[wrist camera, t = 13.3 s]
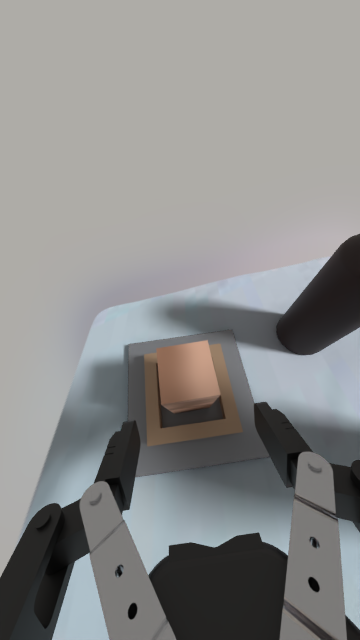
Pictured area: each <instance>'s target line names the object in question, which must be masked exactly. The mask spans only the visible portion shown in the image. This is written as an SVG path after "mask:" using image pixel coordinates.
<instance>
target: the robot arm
mask: <svg viewBox="0 0 360 640" xmlns="http://www.w3.org/2000/svg"><path fill="white" fill-rule="evenodd" d="M254 422H255V427H256V430H257V432H258V434H259V436H260V438H261V440H262V442H263V444H264V446H265V448H266V450H267V452H268V454H269V455H270V457H271V459H272V461H273V463H274V465H275V467H276V469H277V471H278V473H279V475H280V477H281V478H282V480H283V482H284V484H285V486H286V488H288V487H293V488H294V489H295V495H294V502H293V512H292V522H291V533H290V543H289V553H288V555H286V554H285V553H284V552H283V551H281V550H280V549H278V548H276V547H274V546H273V545H270V544H268V543H265V542H262V541H261V537H260V534H259V533H253V534H246V535H239V536H236V537H234V538H232V539H230V540H229V541H227V542H225V543H223V544H222V545H220V546H218V547H215V548H214V547H209V546H204V545H200V544H196V543H184V544H177V545H170V546H169V556H167V557H165V558H164V559H163V560H161V561H160V562H159V563H158V564H157V565H156V566H155V567H154V569H153V570H152V571H151V572H150V574H149V575H148V574H147V572H146V569H145V567H144V565H143V562H142V560H141V558H140V555H139V553H138V551H137V548H136V546H135V544H134V541H133V539H132V537H131V534H130V532H129V529H128V527H127V525H126V523H125V521H124V520H123V518H122V512H123V511H124V510H129V509H130V503H131V498H132V492H133V487H134V481H135V475H136V470H137V464H138V459H139V453H140V446H141V442H140V435H139V431H138V427H137V423H136V421H135V420H133V421H126V422H123V425H122V428H121V431H118V432H115V433H114V435H113V436H112V437H111V439H110V441H109V444H108V446H107V449H106V452H105V456H104V457H103V460H102V463H101V465H100V468H99V471H98V474H97V476H96V479H95V482H94V484H93V485H91V486H90V487H89V488H88V489H87V490H86V491H85V493H84V494H83V496H82V498H81V499H79V500H78V501H76V502H74V503H72V504H70V505H68V506H66V507H64V508H61V507H60V505H59V504H57V503H52V504H49V505H47V506H45V507H43V508H42V509H41V510H40V511H38V512H37V513H36V514H35V516H34V517H33V518H32V519H31V521H30V522H29V524H28V526H27V528H26V530H25V531H24V533H23V535H22V537H21V539H20V541H19V543H18V545H17V547H16V549H15V551H14V553H13V554H12V556H11V558H10V560H9V562H8V564H7V566H6V568H5V570H4V572H3V574H2V576H1V577H0V640H52V637H53V634H54V630H55V627H56V623H57V620H58V617H59V613H60V610H61V607H62V603H63V600H64V596H65V593H66V590H67V586H68V583H69V579H70V576H71V573H72V569H73V566H74V563H75V561H76V560H78V559H79V558H81V557H83V556H85V555H86V554H88V553H90V559H91V564H92V568H93V572H94V576H95V581H96V585H97V589H98V593H99V597H100V602H101V606H102V610H103V614H104V618H105V622H106V627H107V631H108V635H109V639H110V640H360V630H359V629H358V628H357V627H356V625H355V624H354V623H353V622H352V621H351V620H350V619H349V618H348V617H347V616H346V615H345V606H344V593H343V579H342V565H341V552H340V538H339V525H338V518H341V519H345V520H349V521H353V523H354V524H355V526H356V527H357V529H358V531H359V532H360V460H356V461H354V462H353V463H352V466H351V467H347V466H341V465H335V464H331V463H328V462H327V460H325V459H324V458H323V457H322V456H320V455H318V454H316V453H313V451H312V450H311V449H310V448H309V446H308V445H307V444H306V442H305V441H304V440H303V439H302V437H301V436H300V435H299V433H298V432H297V431H296V429H294V427H293V426H292V424H291V423H290V422H289V420H288V419H287V418H286V416H285V415H284V414H283V413H281V412H280V411H278V410H277V409H273V410H272V409H271V408H270V406H269V405H268V404H267V402H261V403H254Z"/></svg>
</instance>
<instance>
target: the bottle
mask: <svg viewBox="0 0 360 640" xmlns="http://www.w3.org/2000/svg"><path fill="white" fill-rule="evenodd" d="M359 327H360V234H358V235H355V236H352V237H350V238H349V239H348V240H346V241H345V242H344V243H342V244H341V245H340V247H339V248H338V249H337V250H336V252H335V253H334V254H333V255H332V257H331V258H330V259H329V260H328V261H327V263H326V264H325V265H324V266H323V268H322V269H321V270H320V271H319V272H318V274H317V275H316V276H315V277H314V279H313V280H312V281H311V282H310V283H309V285H308V286H307V287H306V288H305V290H304V291H303V292H302V293H301V295H300V296H299V297H298V298H297V299H296V301H295V302H294V303H293V304H292V306H291V307H290V308H289V309H288V310H287V312H286V313H285V314H284V315H283V317H282V318H281V319H280V320H279V322H278V324H277V331H276V332H277V335H278V338H279V340H280V341H281V343H282V344H283V345H284V346H285V347H286V348H287V349H289V350H291V351H293V352H295V353H297V354H302V355H311V354H314V353H317V352H319V351H321V350H322V349H324V348H326V347H327V346H329V345H331V344H332V343H334V342H336V341H338V340H339V339H341V338H343V337H344V336H346V335H348V334H349V333H351V332H353V331H354V330H356V329H358V328H359Z"/></svg>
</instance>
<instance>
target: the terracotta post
mask: <svg viewBox="0 0 360 640" xmlns="http://www.w3.org/2000/svg"><path fill="white" fill-rule="evenodd" d="M156 351H157V362H158V373H159V385H160V396H161V405H162V406H164V407H165V408H167V409H168V410H169V411H171V412H172V413H174V414H175V413H181V412H187V411H193V410H199V409H205V408H210V406H211V405H212V404H213V403H214V402H215V401H216V400H217V398H218V397H219V396H220V395H221V394H220V390H219V386H218V381H217V377H216V373H215V369H214V365H213V361H212V357H211V352H210V348H209V344H208V340H206V341H199V342H193V343H187V344H181V345H174V346H168V347H162V348H156Z"/></svg>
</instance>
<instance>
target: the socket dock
mask: <svg viewBox="0 0 360 640" xmlns="http://www.w3.org/2000/svg"><path fill="white" fill-rule="evenodd" d="M206 340H208V344H209V348H210V352H211V357H212V361H213V365H214V369H215V373H216V377H217V381H218V386H219V390H220V394H221V395H220V396H219V397H218V398H217V400H216V401H215V402H214V403H213V404H212V405H211V406H210V408H205V409H199V410H193V411H187V412H181V413H175V414H174V413H172V412H171V411H169V410H168V409H167V408H165V407H164V406H162V405H161V396H160V385H159V373H158V362H157V351H156V348H162V347H168V346H174V345H181V344H187V343H193V342H199V341H206ZM133 420H135V421H136V423H137V427H138V431H139V435H140V442H141V446H140V453H139V459H138V464H137V470H136V475H135V477H140V476H147V475H154V474H160V473H167V472H173V471H180V470H186V469H193V468H199V467H206V466H213V465H219V464H226V463H232V462H239V461H245V460H252V459H258V458H265V457H270V455H269V454H268V452H267V450H266V448H265V446H264V444H263V442H262V440H261V438H260V436H259V434H258V432H257V430H256V427H255V422H254V400H253V397H252V394H251V390H250V387H249V384H248V380H247V377H246V374H245V371H244V367H243V364H242V361H241V357H240V354H239V351H238V347H237V344H236V341H235V337H234V334H233V331H232V330H225V331H218V332H211V333H204V334H197V335H190V336H183V337H176V338H169V339H162V340H155V341H148V342H141V343H134V344H129V356H128V421H133Z"/></svg>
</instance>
